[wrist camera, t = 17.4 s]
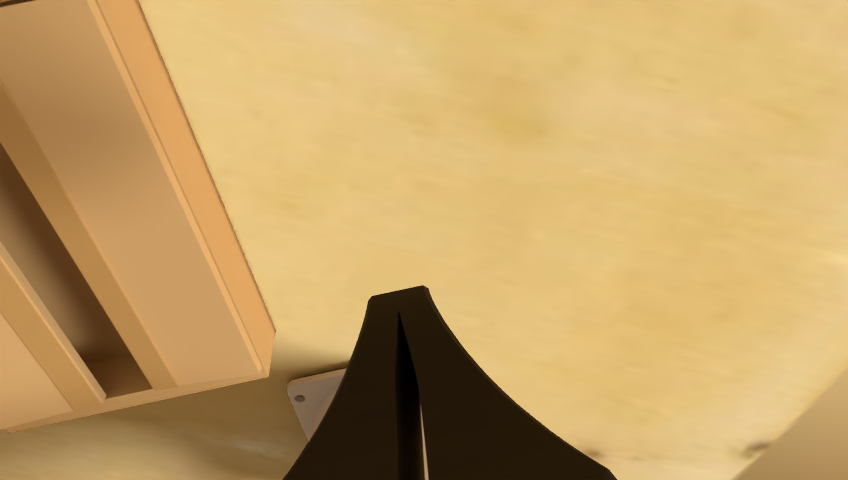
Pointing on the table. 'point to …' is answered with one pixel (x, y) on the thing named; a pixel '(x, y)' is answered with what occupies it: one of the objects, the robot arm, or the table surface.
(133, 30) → the carton
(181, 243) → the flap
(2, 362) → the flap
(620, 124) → the table surface
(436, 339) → the robot arm
